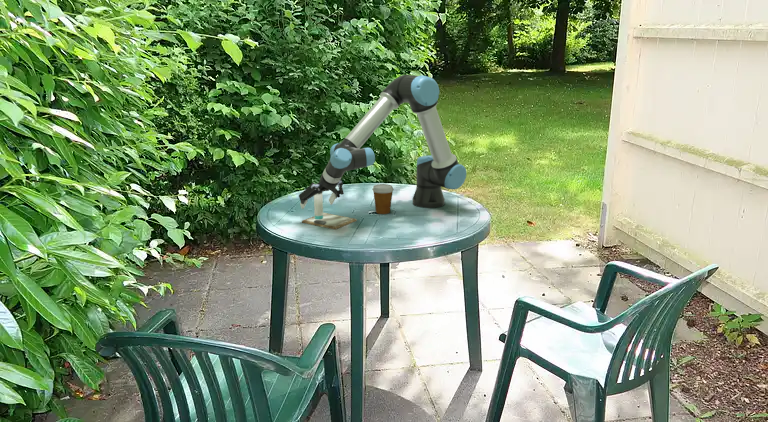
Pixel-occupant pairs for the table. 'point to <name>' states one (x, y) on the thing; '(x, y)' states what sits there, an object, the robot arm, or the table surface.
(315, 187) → the robot arm
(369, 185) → the table surface
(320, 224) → the clipboard
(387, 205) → the disposable coffee cup
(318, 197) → the ball
